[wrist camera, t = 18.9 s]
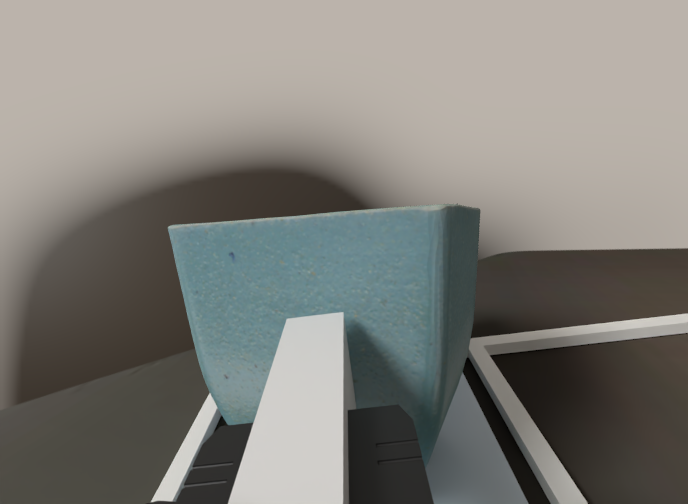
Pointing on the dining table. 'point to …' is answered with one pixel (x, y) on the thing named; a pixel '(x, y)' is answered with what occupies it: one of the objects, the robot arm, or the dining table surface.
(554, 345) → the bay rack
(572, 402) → the dining table surface
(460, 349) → the flower pot
